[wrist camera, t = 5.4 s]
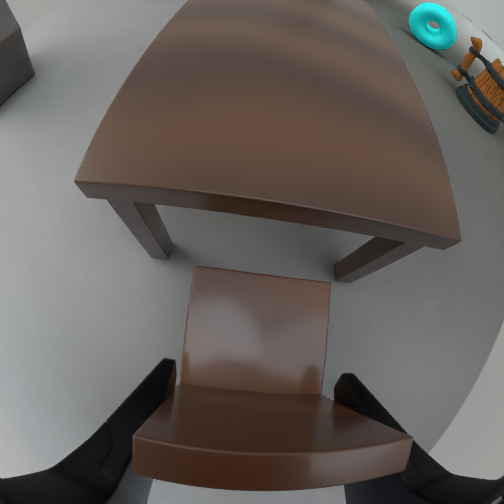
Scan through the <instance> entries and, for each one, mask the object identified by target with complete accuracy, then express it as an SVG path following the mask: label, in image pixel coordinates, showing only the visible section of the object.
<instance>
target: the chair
mask: <svg viewBox="0 0 504 504" xmlns="http://www.w3.org/2000/svg"><path fill="white" fill-rule="evenodd" d="M330 285H331V284H330V282H323V281H314V280H306V279H297V278H289V277H281V276H273V275H265V274H257V273H249V272H241V271H234V270H226V269H219V268H212V267H204V266H195V267H194V274H193V280H192V287H191V293H190V300H189V307H188V314H187V322H186V330H185V338H184V346H183V354H182V363H181V373H180V383H179V385H178V386H177V387H176V388H175V389H174V391H173V392H172V393H171V394H170V396H169V397H168V398H166V399H165V400H164V401H163V403H162V404H161V405H160V406H159V407H158V408H157V409H156V410H155V412H154V413H153V414H152V415H151V416H150V417H149V418H148V419H147V420H146V421H145V423H144V424H143V425H142V426H141V427H140V428H139V429H138V430H137V431H136V432H135V433H134V435H133V473H134V474H137V475H140V476H144V477H149V478H153V479H157V480H162V481H167V482H172V483H178V484H183V485H190V486H197V487H205V488H214V489H225V490H241V491H288V490H304V489H315V488H324V487H332V486H339V485H345V484H351V483H357V482H362V481H367V480H371V479H376V478H380V477H384V476H388V475H392V474H395V473H399V472H402V471H404V470H405V469H406V465H407V462H408V458H409V454H410V450H411V446H412V442H413V437H412V436H410V435H408V434H405V433H403V432H400V431H398V430H395V429H393V428H391V427H388V426H386V425H384V424H382V423H379V422H377V421H375V420H373V419H370V418H368V417H366V416H364V415H362V414H360V413H358V412H356V411H353V410H351V409H349V408H347V407H345V406H343V405H341V404H339V403H337V402H335V401H333V400H331V399H329V398H327V397H325V396H324V395H322V394H321V393H322V385H323V376H324V367H325V357H326V346H327V335H328V321H329V305H330Z"/></svg>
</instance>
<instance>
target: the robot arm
mask: <svg viewBox="0 0 504 504" xmlns="http://www.w3.org/2000/svg"><path fill="white" fill-rule="evenodd" d="M176 374H177V373H176V361H175V360H174V359H169V358H164V359H162V360H161V362H160V363H159V364H158V365H157V366H156V367H155V368H154V369H153V370H152V371H151V373H150V374H149V375H148V376H147V377H146V378H145V379H144V380H143V381H142V382H141V383H140V385H139V386H138V387H137V388H136V389H135V390H134V391H133V392H132V393H131V394H130V395H129V397H128V398H127V399H126V400H125V401H124V402H123V403H122V404H121V405H120V406H119V407H118V408H117V410H116V411H115V412H114V413H113V414H112V415H111V416H110V417H109V418H108V419H107V421H106V422H104V424H103V425H102V426H101V427H100V428H99V429H98V430H97V431H96V432H95V433H94V434H93V435H92V436H91V437H90V438H89V439H88V440H86V441H85V442H84V443H83V444H82V445H81V446H79V447H78V448H77V449H76V450H74V451H73V452H72V453H71V454H69V455H68V456H67V457H66V458H64V459H63V460H62V461H60V462H59V463H58V464H56V465H55V466H53V467H51V468H49V469H47V470H44V471H40V472H36V473H31V474H27V475H22V476H17V477H12V478H5V479H2V478H0V504H147V500H148V496H149V492H150V488H151V485H152V481H153V478H149V477H144V476H140V475H137V474H134V473H133V435H134V433H135V432H136V431H137V430H138V429H139V428H140V427H141V426H142V425H143V424H144V423H145V421H146V420H147V419H148V418H149V417H150V416H151V415H152V414H153V413H154V412H155V410H156V409H157V408H158V407H159V406H160V405H161V404H162V403H163V401H164V400H165V399H166V398H168V397H169V396H170V394H171V393H172V392H173V391H174V389H175V383H176ZM334 401H335V402H337V403H339V404H341V405H343V406H345V407H347V408H349V409H351V410H353V411H356V412H358V413H360V414H362V415H364V416H366V417H368V418H370V419H373V420H375V421H377V422H379V423H382V424H384V425H386V426H388V427H391V428H393V429H395V430H398V431H400V432H403V433H405V434H407V432H406V431H405V430H404V429H403V428H402V427H401V426H400V425H399V424H398V423H397V421H396V420H395V419H394V418H393V417H392V416H391V415H390V414H389V413H388V411H387V410H386V409H385V408H384V407H383V406H382V405H381V404H380V403H379V401H378V400H377V399H376V398H375V397H374V396H373V395H372V394H371V393H370V391H369V390H368V389H367V388H366V387H365V386H364V385H363V384H362V383H361V381H360V380H359V379H358V378H357V377H356V376H355V375H354V374H352V373H343V374H342V375H341V377H340V378H339V380H338V381H337V383H336V385H335V387H334ZM344 489H345V498H346V504H504V476H502V477H501V478H499V479H497V480H486V479H478V478H471V477H465V476H459V475H455V474H452V473H450V472H449V471H447V470H446V469H444V468H443V467H442V466H441V465H440V464H439V463H437V462H436V461H435V460H434V459H433V458H432V457H431V456H429V455H428V454H427V453H426V452H425V451H424V450H423V449H422V448H421V447H420V446H419V445H418V444H417V443H416V442H415V441H414V440H413V442H412V446H411V450H410V454H409V458H408V462H407V465H406V469H405V470H404V471H402V472H399V473H395V474H392V475H388V476H384V477H380V478H376V479H371V480H367V481H362V482H357V483H351V484H345V485H344Z"/></svg>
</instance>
